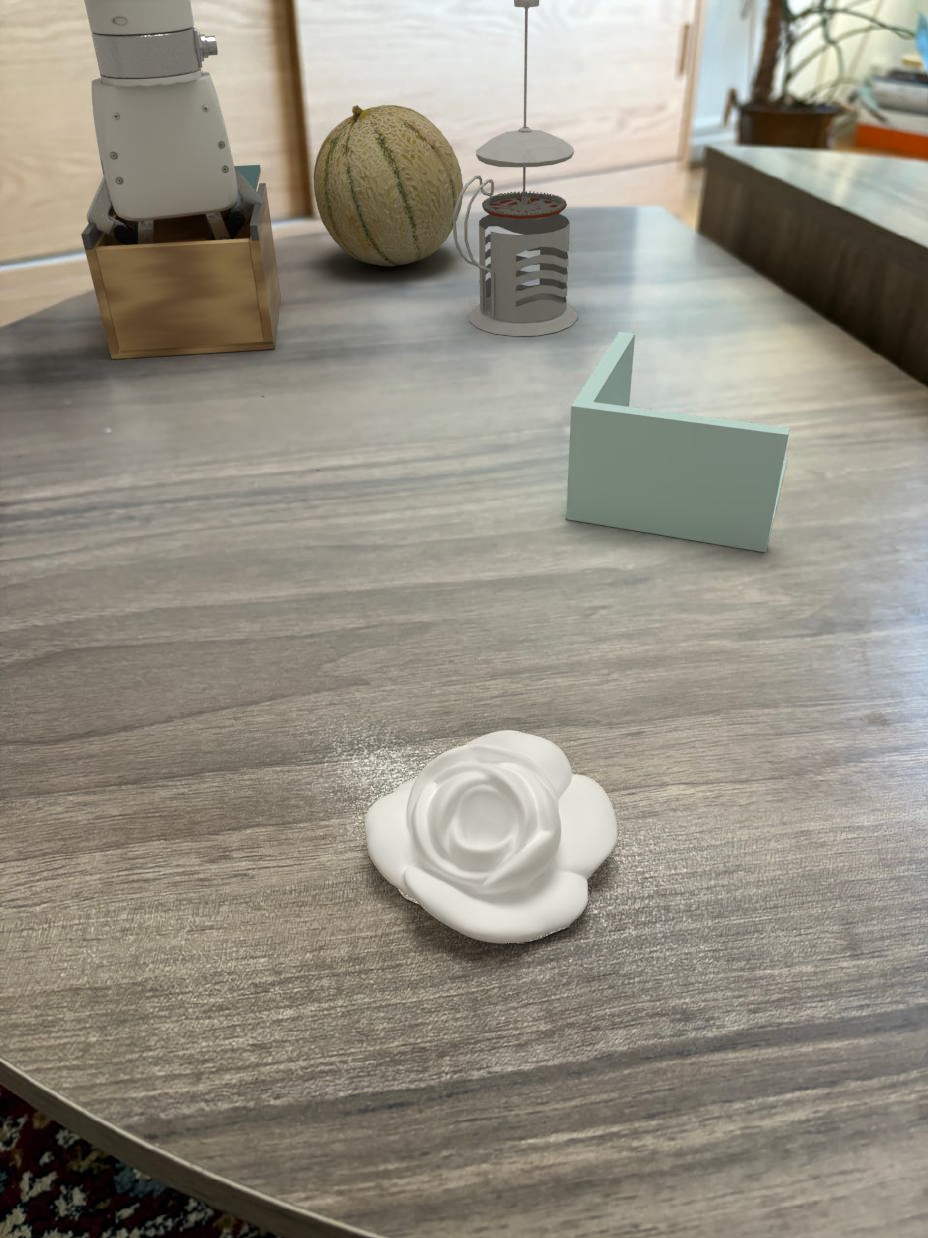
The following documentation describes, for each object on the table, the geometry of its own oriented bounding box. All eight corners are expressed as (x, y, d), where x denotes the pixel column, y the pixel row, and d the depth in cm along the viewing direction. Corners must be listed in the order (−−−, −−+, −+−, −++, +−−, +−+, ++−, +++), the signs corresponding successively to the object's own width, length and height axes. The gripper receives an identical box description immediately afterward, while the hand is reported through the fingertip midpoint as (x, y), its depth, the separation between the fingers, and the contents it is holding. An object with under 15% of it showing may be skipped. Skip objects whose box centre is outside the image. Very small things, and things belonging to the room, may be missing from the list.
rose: (584, 677, 42) (658, 854, 35) (579, 752, 45) (647, 932, 37) (350, 708, 41) (372, 899, 33) (359, 783, 44) (382, 976, 36)
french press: (600, 319, 88) (620, -14, 73) (494, 350, 83) (492, -1, 68) (533, 290, 95) (538, -21, 80) (430, 316, 90) (416, -10, 75)
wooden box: (111, 359, 83) (80, 233, 77) (136, 304, 94) (111, 190, 88) (274, 349, 84) (257, 224, 78) (280, 295, 95) (265, 182, 89)
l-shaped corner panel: (765, 552, 58) (788, 434, 53) (566, 519, 61) (571, 405, 57) (787, 459, 67) (808, 351, 62) (611, 434, 70) (619, 331, 66)
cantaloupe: (493, 258, 103) (493, 97, 94) (394, 296, 94) (382, 123, 85) (392, 233, 111) (382, 82, 102) (291, 266, 102) (271, 104, 93)
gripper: (249, 43, 81) (278, 271, 91) (29, 59, 76) (88, 297, 87) (268, 55, 75) (298, 296, 86) (33, 73, 70) (96, 326, 81)
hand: (192, 294), depth 86 cm, fingers closed on block, 4 cm apart
